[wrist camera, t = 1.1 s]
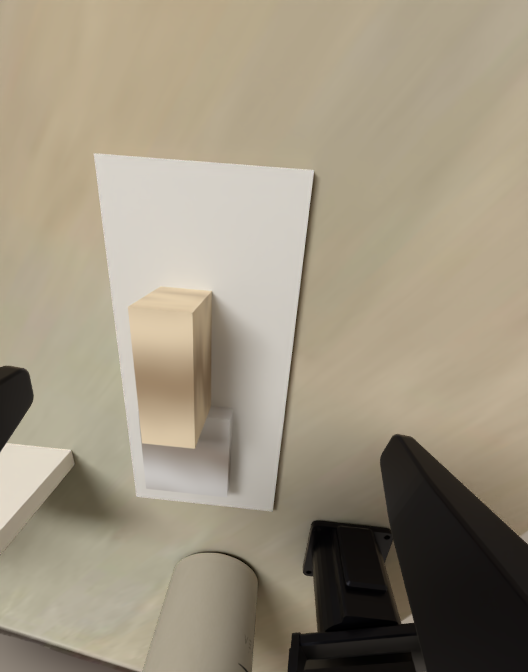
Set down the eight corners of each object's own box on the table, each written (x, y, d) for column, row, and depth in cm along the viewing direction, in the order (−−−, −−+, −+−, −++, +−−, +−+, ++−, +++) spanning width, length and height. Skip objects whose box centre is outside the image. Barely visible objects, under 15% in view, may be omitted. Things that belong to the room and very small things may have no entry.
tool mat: (272, 507, 25) (272, 511, 24) (138, 492, 25) (136, 496, 25) (313, 171, 15) (314, 169, 15) (98, 154, 16) (93, 153, 15)
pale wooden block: (229, 483, 23) (219, 535, 20) (152, 475, 24) (128, 524, 20) (237, 293, 18) (225, 315, 14) (135, 284, 18) (95, 304, 14)
